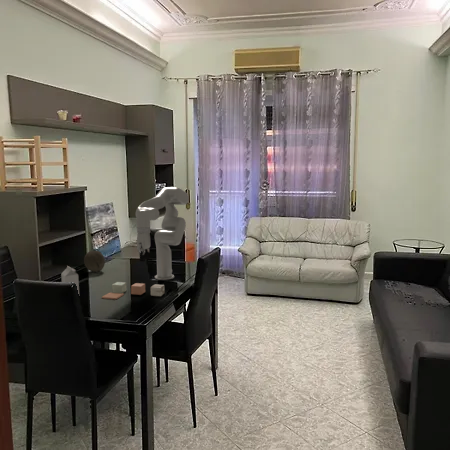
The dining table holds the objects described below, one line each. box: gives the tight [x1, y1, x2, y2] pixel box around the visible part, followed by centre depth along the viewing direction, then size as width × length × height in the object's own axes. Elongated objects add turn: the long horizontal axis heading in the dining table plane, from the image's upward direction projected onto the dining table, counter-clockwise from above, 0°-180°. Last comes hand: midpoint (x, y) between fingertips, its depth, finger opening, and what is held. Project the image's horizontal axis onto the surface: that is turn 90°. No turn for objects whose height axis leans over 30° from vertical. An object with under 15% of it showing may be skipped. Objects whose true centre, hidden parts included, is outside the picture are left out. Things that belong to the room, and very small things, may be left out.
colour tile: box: [101, 292, 125, 300], centre depth 257 cm, size 9×9×1 cm
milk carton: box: [60, 265, 80, 295], centre depth 248 cm, size 7×7×19 cm
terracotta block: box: [130, 282, 146, 296], centre depth 263 cm, size 6×6×5 cm
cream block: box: [150, 283, 165, 297], centre depth 260 cm, size 6×6×5 cm
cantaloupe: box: [83, 250, 106, 273], centre depth 313 cm, size 14×14×15 cm
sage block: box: [111, 281, 127, 293], centre depth 266 cm, size 6×6×5 cm
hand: (144, 259), depth 271 cm, fingers open, 5 cm apart
